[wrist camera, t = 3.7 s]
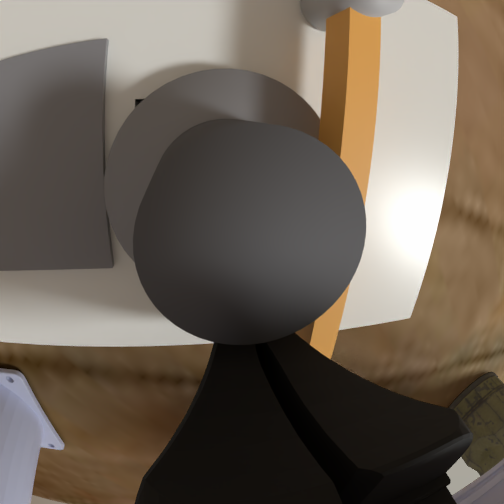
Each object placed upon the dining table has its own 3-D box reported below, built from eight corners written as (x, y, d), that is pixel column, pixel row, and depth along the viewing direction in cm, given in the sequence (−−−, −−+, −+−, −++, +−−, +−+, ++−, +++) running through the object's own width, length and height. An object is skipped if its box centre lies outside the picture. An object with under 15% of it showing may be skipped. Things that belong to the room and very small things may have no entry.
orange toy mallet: (271, 340, 12) (292, 393, 10) (300, -21, 7) (341, -56, 4) (314, 335, 13) (341, 384, 10) (352, -8, 7) (402, -32, 5)
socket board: (-2, 308, 12) (-25, 343, 9) (-26, 15, 6) (-61, 4, 4) (384, 291, 16) (413, 321, 14) (420, 23, 10) (462, 16, 8)
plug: (130, 255, 12) (96, 396, 6) (124, 82, 10) (43, 44, 3) (292, 250, 14) (378, 367, 7) (307, 88, 11) (443, 79, 5)
